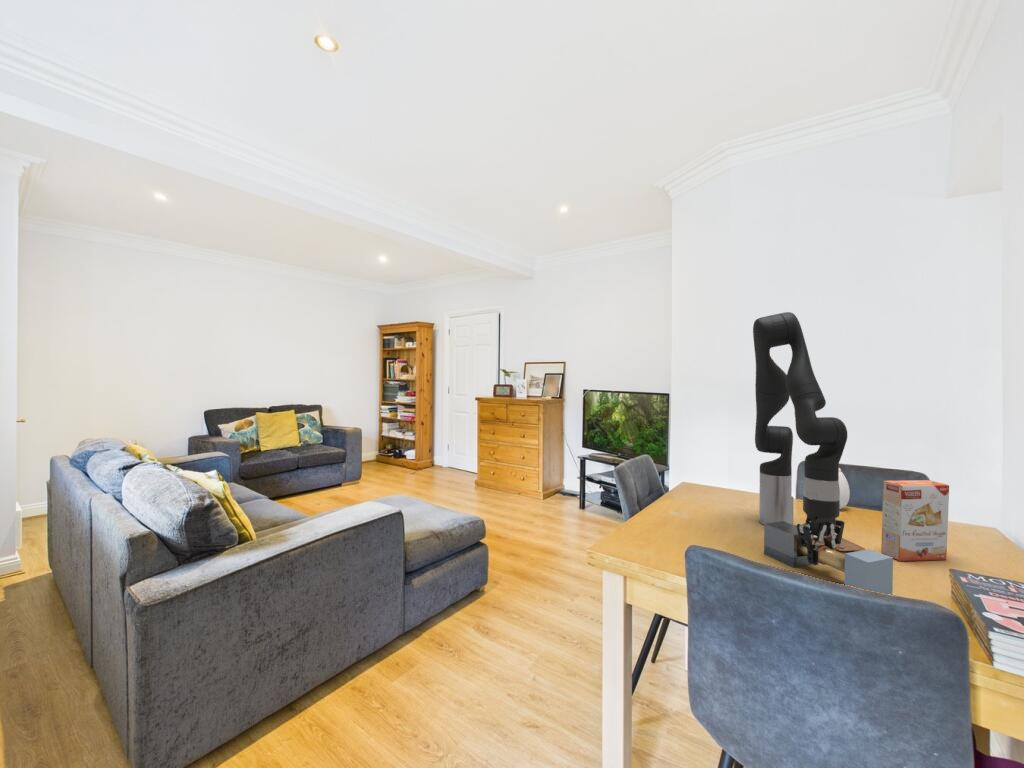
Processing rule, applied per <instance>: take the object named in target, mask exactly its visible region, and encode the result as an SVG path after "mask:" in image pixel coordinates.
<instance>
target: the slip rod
mask: <svg viewBox="0 0 1024 768" xmlns="http://www.w3.org/2000/svg"><path fill="white" fill-rule="evenodd" d="M805 542H806V540H805ZM812 545H814V543H813V542H812ZM817 551H818V564H821V565H823V566H824V565H826V566H828V567H830V568H831V567H832V568H833V569H836V570H838V571H841V572H843V573H845V554H842V553H840V552H837V551H834V550H832V549H830V548H829V547H827V546H825V545H822V544H819V547H818V550H817ZM797 553H800V554H802V555H804V556H807V548H806V547H804V546H801V545H800V541H799V539H797Z"/></svg>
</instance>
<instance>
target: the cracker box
mask: <svg viewBox="0 0 1024 768" xmlns="http://www.w3.org/2000/svg"><path fill="white" fill-rule="evenodd" d="M882 483H883V485H882V517H881V518H882V519H881V546H880V547H881V552H880V553H881V554H884V555H887V556H890V557H893V560H894V559H895V560H896V561H899V562H910V561H912V562H913V561H914V562H915V561H918V562H920V561H946V560H947V554H948V553H947V551H948V550H947V549H948V528H949V527H948V526H949V525H948V524H949V502H950V485H948V484H946V483H944V482H938V481H935V480H934V481H933V480H929V479H921V480H920V479H917V480H915V479H914V480H913V479H912V480H911V479H910V480H907V479H906V480H900V479H899V480H883V482H882Z"/></svg>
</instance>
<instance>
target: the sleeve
mask: <svg viewBox="0 0 1024 768" xmlns="http://www.w3.org/2000/svg"><path fill="white" fill-rule="evenodd" d="M812 536H813V537H815V535H812ZM797 539H799V536H798V531H797V525H795V524H794V523H793V524H790V523H787V522H784V521H780V522H773V523H766V524H763V554H764V555H765V556H767V557H770V558H772V559H774V560H776V561H779V563H780V562H781V563H782V564H785V565H788V566H790V567H791V568H799V567H804V566H810V565H812V564H811V563H809V562H808V560H807V556H804V555H802V554H800V553H797ZM812 542H813V543H814V540H812Z"/></svg>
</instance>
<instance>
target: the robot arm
mask: <svg viewBox="0 0 1024 768" xmlns="http://www.w3.org/2000/svg"><path fill="white" fill-rule="evenodd" d="M802 329H803V328H802V326H801V323H800V321H799V320H798V318H797V316H796V315H795V313H793V312H791V311H790V312H789V311H787V312H786V311H785V312H781V313H776V314H775V313H774V314H770V315H766V316H761V317H758V318H756V319H755V320H754V323H753V327H752V336H753V345H754V346H753V347H754V348H753V349H754V358H755V384H754V385H755V404H756V406H755V407H756V409H755V410H756V418H755V420H756V421H755V434H754V443H755V448H756V450H757V451H758V452H761V453H767V454H778V455H780V456H779V457H777V458H776V459H774V460H770V461H764V462H762V463H760V465H759V506H758V507H759V510H758V511H759V512H758V514H759V516H758V519H759V523H760V524H761V525H764V524H766V523H773V522H780V521H784V522H787V523H790V524H793V525H794V496H792V489H793V488H792V485H793V484H792V483H793V482H792V478H793V477H792V476H793V475H792V471H793V470H792V461H793V459H792V457H793V455H792V454H793V443H794V435H793V431H792V428H790V427H789V426H783V425H781V426H780V425H769V424H770V422H771V420H772V419H773V418H774V417H775V416H776V415H778V413H780V412H781V410H783V408H785V406H786V405H787V404H788V402H789V400H791V402H792V403H791V404H792V405H793V408H794V418H795V421H794V423H795V431H796V435H797V436H798V438H799V440H800V441H802V442H803V443H804V444H805V445H809V446H819V447H818V449H817V451H815V452H813V453H810V454H807V455H806V456H805V458H804V474H803V475H804V477H803V478H804V479H803V482H802V483H803V485H802V510H803V511H802V512H803V513H805V514H806V519H805V521H804V523H802V524H801V523H797V524H796V526H797V531H798V536H799V541H800V545H801V546H804V547H806V548H807V560H808V562H809V563H811V564H810V565H813V566H817V565H819V563H818V551H817V550H818V547H819V543H820V542H822V541H823V544H825V546H827V547H829V548H830V549H832V550H834V548H835V547H836V544H840V543H841V539H842V538H843V533H844V528H845V521H843V520H840V519H838V518H839V517H840V510H841V509H840V488H839V480H838V479H839V468H840V467H839V464H840V461H841V459H842V456H843V452H844V450H845V447H846V444H847V441H848V429H847V426H846V424H845V423H844V422H843V420H841V419H840V418H839V417H834V416H832V417H830V416H829V417H827V416H826V417H825V416H824V417H817V413H816V412H818V411H820V410H823V408H825V407H826V404H827V403H826V397H825V395H824V393H823V392H822V389H821V387H820V385H819V382H818V380H817V378H816V376H815V373H814V370H813V367H812V362H811V358H810V356H809V351H808V347H807V344H806V340H805V337H804V333H803V330H802ZM787 345H789V346H790V349H791V354H792V355H791V361H790V364H789V367H788V369H787V373H786V372H785V371H784V370H783V369H782V368H781V367H780V366H779V365H778V364H777V363H776V362H775V360H774V359H773V358H772V357H771V352H770V351H771V349H772V348H776V347H782V346H787ZM835 534H836V535H837V537H836V536H835ZM812 535H814V537H813V536H812ZM827 539H828V540H827ZM805 540H806V542H805ZM812 540H814V545H812Z"/></svg>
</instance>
